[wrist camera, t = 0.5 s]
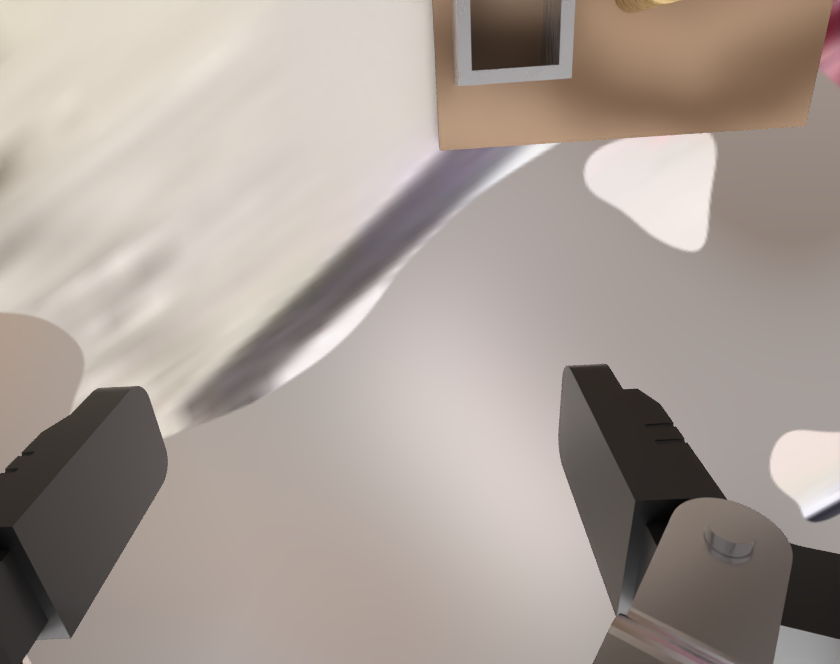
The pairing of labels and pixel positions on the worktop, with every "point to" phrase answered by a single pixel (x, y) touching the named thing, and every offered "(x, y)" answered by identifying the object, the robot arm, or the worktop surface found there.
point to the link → (553, 67)
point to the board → (632, 71)
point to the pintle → (640, 4)
